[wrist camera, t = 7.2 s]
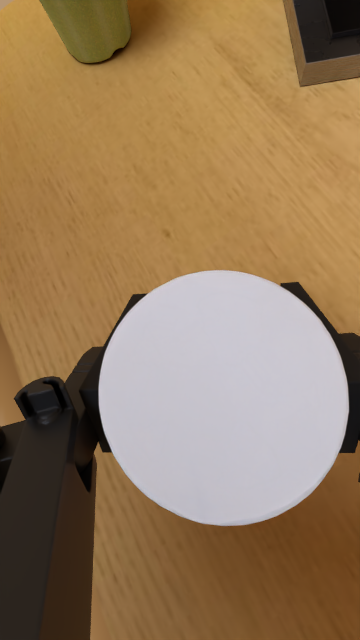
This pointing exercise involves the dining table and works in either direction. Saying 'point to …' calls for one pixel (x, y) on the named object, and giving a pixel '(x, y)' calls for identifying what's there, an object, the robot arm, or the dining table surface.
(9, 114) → the dining table surface
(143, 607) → the dining table surface
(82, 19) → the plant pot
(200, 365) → the pill bottle
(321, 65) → the drip tray
